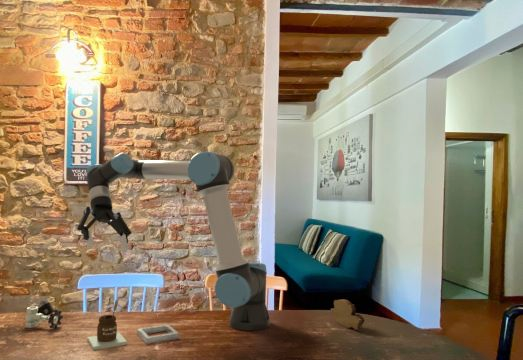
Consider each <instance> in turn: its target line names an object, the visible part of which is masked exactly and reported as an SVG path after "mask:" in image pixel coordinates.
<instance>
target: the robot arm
mask: <svg viewBox="0 0 523 360" xmlns="http://www.w3.org/2000/svg"><path fill="white" fill-rule="evenodd" d="M85 172H86V175H85V176H86V178H85V179H86V184H87V188H88V196H89V201H90V202H89V203H90V206H86V208H85V209H84V210H83V215H82V217H81V219H80V221H79V224H78V225H77V227H76V230H77V231H80V233H81V234H82V235H83V240H84V241H85V243H86V250H88V251H89V250H91V248H93V247H94V241H93V233H92V229H90V228H91V227H92V226H93V224H95V223H96V222H98V223H103V224H107V225H108V226H110V227H111V228H112V229H113V230H114V231H115V232H116V233H117V234H118V235H119V236H120V237H119V243H120V247H121V252H122V254H125V253H127V251H129V238H128V237H129V236H131V234H132V231H131V230H130V228H129V226H128V225H127V223H126V221H125V220H124V219H123V217H122V214H121V212H120V211H117V213H116V212H114V211H113V203H112V202H113V201H112V197H111V191H110V190H111V189H110V184H112V183H113V182H115V181H116V180H118V179H119V178H124V179H136V180H142V179H143V180H145V179H147V180H149V179H150V180H182V181H183V180H185V181H191V182H192V183H193V184H195V188H196V191H197V195H199V196H201V197H202V198H203V203H204V206H205V211H206V214H207V215H206V216H207V221H208V225H209V227H210V228H209V229H210V233H211V237H212V241H213V246H214V249H215V250H214V251H215V254H216V258H217V259H216V260H217V263H218V265H217V266H216V269H215V272H216V273H215V274H216V279H217V280H216V282H215V284H214V293H215V297H216V298H217V300H218V301H219V302H220V303H221V304H223V305H224V306H225V307H228V308H232V309H231V313H230V315H229V320H228V324H229V327H231V328H234V329H236V330H239V331H240V330H241V331H261V330H264V329H268V328H269V327H270V324H271V318H270V314H269V311H268V308H267V305H266V304H267V303H266V299H267V298H266V297H267V274H268V272H267V265H266V264H265V263H262V262H251V261H248V260H247V259H245V258H244V257H243V253H242V248H241V244H240V241H239V237H238V232H237V229H236V224H235V221H234V220H235V219H234V216H233V213H232V212H233V211H232V207H231V203H230V199H229V196H228V190H229V188H230V185H231V184H230V182H231V181H232V179H233V177H234V174H235V167H234V164H233V162H232V159H230V158H229V157H227V156H226V155H223V154H219V153H215V152H212V151H199V152H197V153H196V154H194V155H193V156H192V157H191V158H190V160H142V159H141V160H138V159H132V157H130V155H128V154H127V153H125V152H120V153H119V154H117V155H114V156H113V157H112V158H110V159H108V161H106V162H105V163H103V164H100V163H96V164H92V165H90V166H88V167H87V169H86V171H85ZM90 214H91V215H92V216H93V218H92V219H91V220H90V222H88V223H87V225H85V224H86V222H87V220H88V218H89V216H90Z"/></svg>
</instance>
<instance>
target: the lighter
mask: <svg viewBox="0 0 523 360" xmlns="http://www.w3.org/2000/svg"><path fill="white" fill-rule="evenodd" d="M39 304H40V305H39V306H38V314H39V313H42V314H44V316H50V314H51V313H53V314H54V313H55V312H54V310H55V309H53V307H52V305H51V303H50V302H49V301H46V300H42V301H41V302H39Z"/></svg>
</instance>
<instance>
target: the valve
mask: <svg viewBox="0 0 523 360" xmlns="http://www.w3.org/2000/svg"><path fill="white" fill-rule="evenodd" d="M38 308H39V306H29V307H26V315H25V317H24V318H25V319H24V320H25V321H26V322H25V328H28V329H32V328H36V327H38V323H42V322H43V321H44V322H47V323H48V324H51V325H49V329H55V330H56V329H58V326H60V325H62V321H61V320H63V318H64V315H61V314H62V310H60V309H53V310H54V312H53V313H51V314H50V315H48V316H44V314H42V313H39V314H38Z"/></svg>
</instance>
